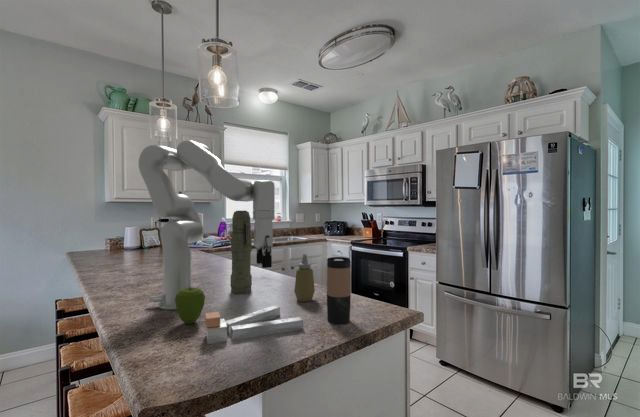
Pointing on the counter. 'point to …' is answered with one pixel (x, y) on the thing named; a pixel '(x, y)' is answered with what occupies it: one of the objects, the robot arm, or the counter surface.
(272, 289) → the counter surface
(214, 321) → the block
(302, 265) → the squeeze bottle
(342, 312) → the travel mug
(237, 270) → the thermos
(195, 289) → the apple
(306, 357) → the counter surface
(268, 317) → the arm
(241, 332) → the base
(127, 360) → the counter surface
